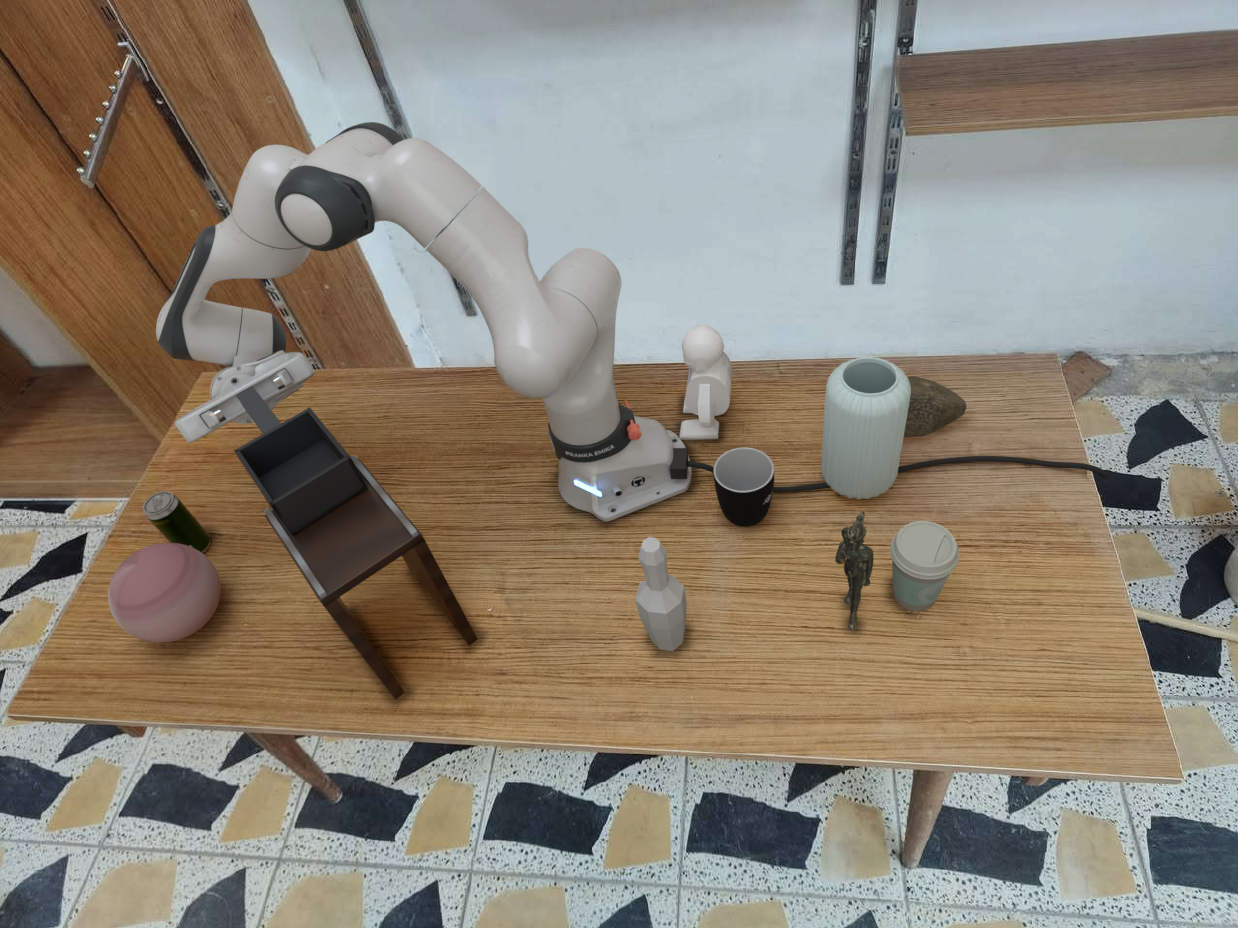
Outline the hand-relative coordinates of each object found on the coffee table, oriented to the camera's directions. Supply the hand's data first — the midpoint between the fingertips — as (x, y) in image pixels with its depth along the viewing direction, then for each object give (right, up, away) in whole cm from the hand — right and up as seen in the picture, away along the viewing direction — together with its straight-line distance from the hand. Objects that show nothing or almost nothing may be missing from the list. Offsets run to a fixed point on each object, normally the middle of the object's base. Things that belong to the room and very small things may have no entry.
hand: (249, 399), depth 114 cm
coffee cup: (+93, -27, +1) cm, 97 cm away
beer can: (-21, -23, +26) cm, 41 cm away
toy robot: (+67, -1, +29) cm, 73 cm away
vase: (+89, -11, +16) cm, 91 cm away
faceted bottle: (+58, -33, +2) cm, 67 cm away
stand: (+20, -34, +9) cm, 40 cm away
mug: (+72, -15, +15) cm, 75 cm away
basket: (+7, -9, -2) cm, 11 cm away
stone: (+100, -2, +22) cm, 102 cm away
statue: (+83, -30, 0) cm, 89 cm away
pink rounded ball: (-16, -34, +16) cm, 41 cm away
